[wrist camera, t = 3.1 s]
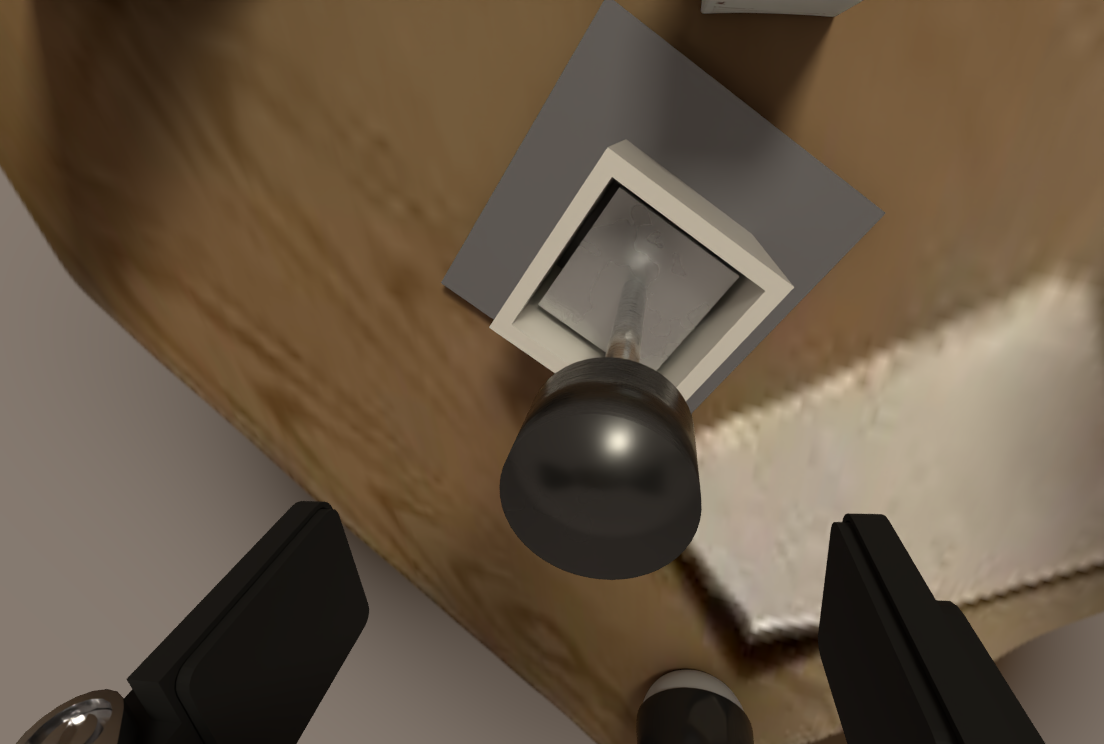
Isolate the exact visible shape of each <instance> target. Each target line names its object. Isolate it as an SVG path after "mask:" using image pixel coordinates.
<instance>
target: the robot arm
mask: <svg viewBox="0 0 1104 744" xmlns="http://www.w3.org/2000/svg"><path fill="white" fill-rule="evenodd" d="M368 615H369V606H368V602H367V599H366V596H365V593H364V590H363V587H362V584H361V581H360V578H359V575H358V571H357V568H356V565H355V563H354V560H353V556H352V553H351V550H350V547H349V544H348V541H347V538H346V535H345V532H344V529H343V526H342V523H341V520H340V517H339V514H338V512H337V511H336V510H334V509H332V507H331V505H330V504H329V503H327V502H313V501H300V502H297V503H295V504H294V505H293V506H292V507H291V508H290V509H289V510H288V511H287V512H286V513H285V514H284V515H283V516H282V517H281V518H280V519H279V520H278V521H277V522H276V523H275V525H274V526H273V527H272V528H271V529H270V530H269V531H268V532H267V533H266V534H265V535H264V536H263V537H262V538H261V539H260V540H259V541H258V542H257V543H256V545H254V546H253V548H252V549H251V550H250V551H249V552H248V553H247V554H246V555H245V556H244V557H243V558H242V559H241V560H240V561H239V562H238V563H237V564H236V565H235V566H234V567H233V568H232V570H231V571H230V572H229V573H228V574H227V575H226V576H225V577H224V578H223V579H222V580H221V581H220V582H219V583H218V584H217V585H216V586H215V587H214V588H213V589H212V590H211V592H210V593H209V594H208V595H207V596H206V597H205V598H204V599H203V600H202V601H201V602H200V603H199V604H198V605H197V606H196V607H195V608H194V609H193V610H192V611H191V612H190V613H189V614H188V615H187V617H186V618H185V619H184V620H183V621H182V622H181V623H180V624H179V625H178V626H177V627H176V628H175V629H174V630H173V631H172V632H171V633H170V634H169V635H168V636H167V637H166V639H164V641H163V642H162V643H161V644H160V645H159V646H158V647H157V648H156V649H155V650H154V651H153V652H152V653H151V654H150V655H149V656H148V658H146V659H145V660H144V661H143V662H142V664H141V665H140V666H139V667H138V668H137V669H136V670H135V671H134V672H133V673H132V674H131V675H130V676H129V677H128V679H127V681H128V682H129V684H130V686H131V687H132V691H131V692H130V693H129V694H128V695H127V696H126V697H125V698H123V697H122V696H121V695H120V694H119V693H118V692H117V691H112V690H108V689H105V690H98V691H92V692H89V693H86V694H83V695H80V696H77V697H75V698H73V699H71V700H70V701H67V702H66V703H64V704H62V705H60V706H58V707H57V708H56V709H54V710H52V711H51V712H50V713H48V714H47V715H45V716H44V717H42V718H41V719H40V720H39V721H38V722H36V723H35V724H34V725H33V726H32V727H31V728H30V729H29V730H28V731H26V732H25V733H24V735H23V736H22V737H21V738H20V739H19V741H18V742H17V743H16V744H297V742H298V740H299V738H300V737H301V735H302V733H303V731H304V730H305V728H306V726H307V725H308V723H309V721H310V719H311V718H312V716H313V714H314V713H315V711H316V709H317V707H318V706H319V704H320V702H321V700H322V699H323V697H324V695H325V694H326V692H327V690H328V688H329V687H330V685H331V683H332V682H333V680H334V678H335V676H336V675H337V673H338V671H339V670H340V668H341V666H342V665H343V663H344V661H345V659H346V658H347V656H348V654H349V652H350V651H351V649H352V647H353V646H354V644H355V642H356V640H357V639H358V637H359V635H360V634H361V632H362V630H363V628H364V627H365V625H366V622H367V619H368ZM818 644H819V651H820V656H821V660H822V663H823V666H824V670H825V673H826V676H827V679H828V683H829V686H830V689H831V692H832V695H833V699H834V702H835V705H836V708H837V712H838V715H839V718H840V721H841V724H842V728H843V731H844V734H845V737H846V740H847V743H848V744H1045V743H1044V741H1043V739H1042V738H1041V736H1040V735H1039V733H1038V731H1037V730H1036V728H1035V727H1034V725H1033V723H1032V722H1031V720H1030V719H1029V717H1028V716H1027V714H1026V712H1025V711H1024V709H1023V708H1022V706H1021V704H1020V703H1019V701H1018V700H1017V698H1016V697H1015V695H1014V693H1013V692H1012V690H1011V689H1010V687H1009V685H1008V684H1007V682H1006V681H1005V679H1004V677H1003V676H1002V674H1001V673H1000V671H999V670H998V668H997V666H996V665H995V663H994V662H993V660H992V658H991V657H990V655H989V654H988V652H987V650H986V649H985V647H984V646H983V644H982V642H981V641H980V639H979V638H978V636H977V635H976V633H975V631H974V630H973V628H972V627H971V625H970V623H969V622H968V620H967V619H966V617H965V615H964V614H963V613H962V612H961V610H960V609H959V608H958V606H956V605H955V604H954V603H952V602H951V601H937V600H935V598H934V596H933V594H932V593H931V591H930V589H929V588H928V586H927V584H926V583H925V581H924V579H923V578H922V576H921V574H920V572H919V571H918V569H917V567H916V566H915V564H914V562H913V561H912V559H911V557H910V555H909V554H908V552H907V550H906V549H905V547H904V545H903V544H902V542H901V540H900V539H899V537H898V535H897V533H896V532H895V530H894V528H893V527H892V525H891V523H890V522H889V520H888V519H887V517H886V516H884V515H882V514H845V516H844V518H843V522H834V523H833V524H832V527H831V533H830V541H829V550H828V558H827V566H826V574H825V583H824V591H823V599H822V607H821V616H820V624H819V632H818Z"/></svg>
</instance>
